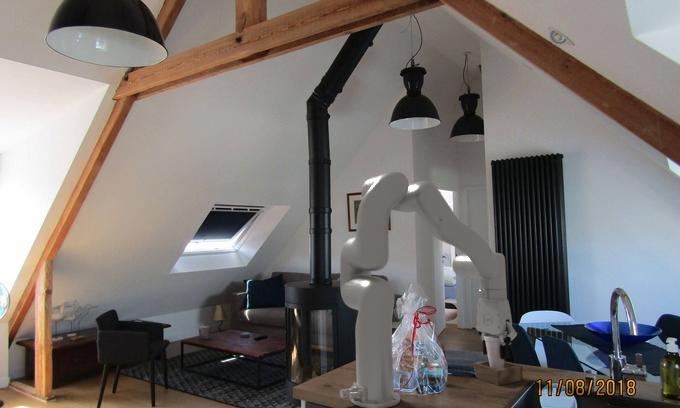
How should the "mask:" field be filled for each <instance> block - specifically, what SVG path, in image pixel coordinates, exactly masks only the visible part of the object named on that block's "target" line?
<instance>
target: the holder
mask: <svg viewBox="0 0 680 408" xmlns="http://www.w3.org/2000/svg"><path fill="white" fill-rule="evenodd" d="M484 365H488V366H489V367H488V366H484ZM472 366H473V368H474V371H475V372H476V373H477V374H476V377H477V378H479V379H478V380H480V379H481V380H480V381H483V380H484V382H486V381H487V382H486V383H489V382H490V383H489V384H492V383H493V384H492V385H496V386H498V385H499V386H502V385H501V384H503V385H506V384H505V383H508V384H510V383H509V382H512V383H516V382H515V381H517V382H521V380H522V381H524V373H523V372H524V370H523V368H524V366H523V365H521V364H520V365H519V364H516V363H513V362H509V361H506V360H504V368H502V369H494V368H491V367H490V364H489V359H488V360H484V361H477V362H471V367H472ZM477 378H476V379H477Z"/></svg>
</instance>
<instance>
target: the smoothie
mask: <svg viewBox="0 0 680 408" xmlns="http://www.w3.org/2000/svg"><path fill="white" fill-rule="evenodd" d="M503 337H504V340H505V336H503ZM484 340H485V342H486V348H487V353H488V354H487V356H488V357H487V358H488V360H489V364H490V367H491V368H494V369H502V368H504V361H505V359H501V358H500V345H502V344H501V341H500V338H499V335H493V334H491V335H485V336H484Z"/></svg>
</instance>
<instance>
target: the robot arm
mask: <svg viewBox="0 0 680 408" xmlns="http://www.w3.org/2000/svg"><path fill="white" fill-rule="evenodd" d="M360 193H361V197H362V198H361V201H360V202H359V203H360V204H359V206H358V210H357V215H356V230H355V232H356V233H355V236H353V237H350V238H349V239H347V240H346V241H345V242H344V244H343V246H342V248H341V251H340V256H339V257H340V261H339V262H340V266H339V269H340V271H339V272H340V273H339V274H340V278H339V279H340V280H339V281H340V287H339V288H340V295H341V298H342V299H341V300H342V301H343V303H344V304H345V306H347V307H348V308H350V309H352V310H355V311H358V314H357V318H356V323H355V331H354V332H355V333H354V334H355V363H356V364H355V366H356V367H355V368H356V370H355V372H356V382H353V383H352V386H350V388H343V389H342V388H341V389H340V390H339V397H340V398H341V399H343V398H347V397H348V398H349V399H350V401H351V403H353V405H355V406H357V407H361V408H391V407H394V406H396V405H398V404H399V403H400V402H401V395H400V394H399V393H397V391H394V388H395V387H394V359H393V358H394V357H393V313H394V307H395V292H394V289H393V286H392V285H391V284H390V283H389V282H388V281H387V280H386V279H384V278H381V277H380V276H379V277H378V276H372V272H378V271H382V270H383V269H384V268H385V267H386V266H387V265H388V262H389V257H390V255H389V252H390V250H389V249H390V248H389V247H390V245H389V242H390V241H389V223H390V222H389V221H390V215H391V213H392V211H394V212H395V211H396V212H402V213H413V212H414V213H415V212H416V213H417V215H418V216H419V217H420V219H421V220H422V222H423V223H424V224H425V225H426V227H427V229H428V230H429V231H430V233H431V235H432V236H433V237H434V238H436V239H437V240H439V241H441V242H444V243H446V244H448V245H450V246H452V247H455V248H456V249H458V250H459V251H461V253H460V254H458V255H456V256H455V257H454V259H453V260H452V265H451V266H452V267H451V268H452V270H453V272H454V273H455V275H456V276H458V277H460V278H462V279H463V278H464V279H468V280H469V279H470V280H471V279H472V280H479V291H478V293H479V294H480V298H478V301H477V308H476V324H475V325H474V328H475V330H476V332H478V335H479V337H480V340H481V341H482V354H483V355H485V356H486V355H487V356H488V353H487V348H486V342H485V340H484V336H485V335H491V334H493V335H499V338H500V341H501V344H502V345H500V358H501V359H504V360H509V359H510V358H511V353H510V352H511V351H510V345H511V344H512V342H513V341H514V339H515V338H516V337H517V335H518V332H517V331H516V329H514V327H513V320H512V314H511V313H512V312H511V311H512V310H511V306H510V302H509V300H508V297H507V296H508V294H507V293H508V291H507V276H506V275H507V274H506V272H507V271H506V259H505V256H504V254H503V253H500V252H494V251H493V250H492V247H490V245H489V244H488V242H487V240H486V239H484V238H483V237H482V235H480V234H478V232H476V231H475V230H474V229H472V228H471V227H469V226H468V225H467V224H466V223H464V222H463V221H462V220H460V219H459V218H458V216H457V215H456V214H455V212H454V211H453V210H452V208H451V207H450V205H449V203H448V202H447V201H446V198H444V196H443V194H442V193H441V191H440V190H439V189H438V187H437V186H436V185H435V184H434V183H433V182H431V181H428V180H421V181H420V180H419V181H415V182H410V183H409V179H408V176H406V175H405V174H404V173H403V172H401V171H389V172H385V173H381V174H378V175H375V176H372V177H369V178H367V179H366V180H365V181H364V182H363V184H362V186H361V192H360ZM503 336H505V340H504V337H503Z"/></svg>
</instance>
